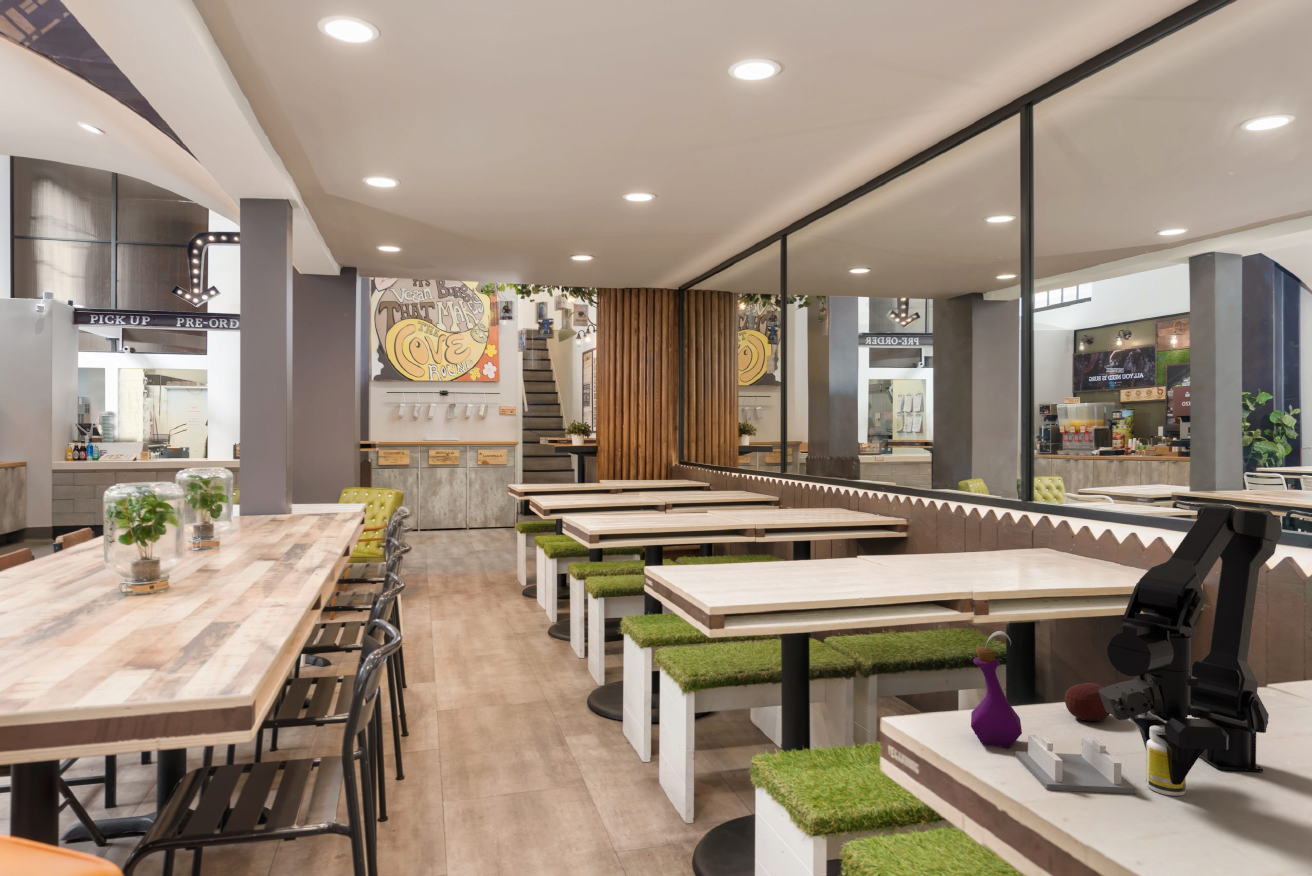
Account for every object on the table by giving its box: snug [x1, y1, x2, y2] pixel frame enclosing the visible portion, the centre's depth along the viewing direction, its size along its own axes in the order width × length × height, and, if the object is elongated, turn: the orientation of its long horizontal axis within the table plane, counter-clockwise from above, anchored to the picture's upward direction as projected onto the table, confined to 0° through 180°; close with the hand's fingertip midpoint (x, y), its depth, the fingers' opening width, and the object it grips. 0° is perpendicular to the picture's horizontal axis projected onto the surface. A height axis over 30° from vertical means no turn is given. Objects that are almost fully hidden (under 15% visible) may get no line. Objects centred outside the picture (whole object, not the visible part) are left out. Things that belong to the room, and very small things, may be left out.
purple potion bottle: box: [970, 630, 1023, 749], centre depth 131 cm, size 8×8×18 cm
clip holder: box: [1015, 734, 1137, 795], centre depth 119 cm, size 12×12×5 cm
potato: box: [1064, 682, 1111, 722], centre depth 144 cm, size 7×10×6 cm
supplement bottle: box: [1145, 725, 1187, 797], centre depth 114 cm, size 5×5×8 cm
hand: (1165, 776), depth 114 cm, fingers closed on supplement bottle, 5 cm apart
